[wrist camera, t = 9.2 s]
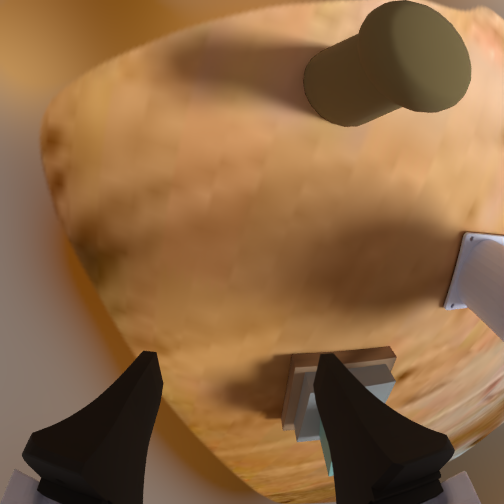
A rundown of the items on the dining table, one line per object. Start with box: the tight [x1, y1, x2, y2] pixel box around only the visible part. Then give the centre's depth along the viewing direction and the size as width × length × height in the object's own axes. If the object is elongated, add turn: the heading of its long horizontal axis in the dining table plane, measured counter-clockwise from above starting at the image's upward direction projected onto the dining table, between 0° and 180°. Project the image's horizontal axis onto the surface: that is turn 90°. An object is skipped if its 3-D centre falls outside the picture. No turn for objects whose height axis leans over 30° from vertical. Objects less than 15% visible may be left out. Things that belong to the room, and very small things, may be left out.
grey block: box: [294, 364, 396, 442], centre depth 24 cm, size 8×8×2 cm
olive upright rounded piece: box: [303, 0, 471, 127], centre depth 12 cm, size 6×6×11 cm
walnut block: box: [281, 346, 397, 431], centre depth 26 cm, size 10×10×2 cm
